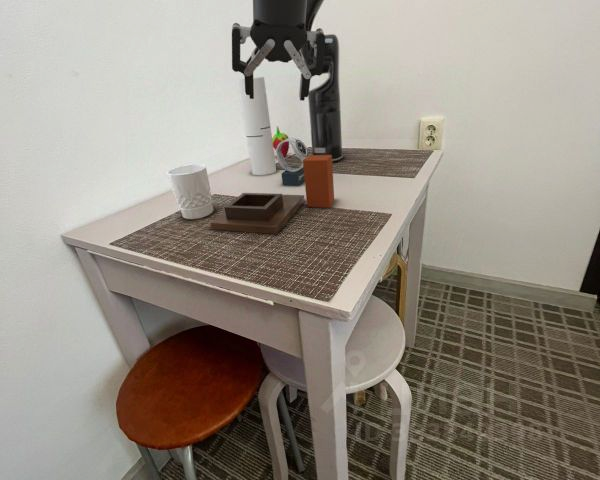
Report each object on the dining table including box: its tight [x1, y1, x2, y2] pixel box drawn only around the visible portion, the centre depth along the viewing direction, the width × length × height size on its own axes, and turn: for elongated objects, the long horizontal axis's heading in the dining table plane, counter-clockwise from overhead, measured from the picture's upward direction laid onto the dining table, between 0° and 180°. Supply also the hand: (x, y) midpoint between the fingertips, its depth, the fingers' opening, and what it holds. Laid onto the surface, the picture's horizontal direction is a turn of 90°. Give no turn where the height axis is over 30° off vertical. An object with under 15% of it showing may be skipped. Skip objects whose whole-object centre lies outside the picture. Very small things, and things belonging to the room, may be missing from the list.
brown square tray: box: [210, 192, 306, 235], centre depth 68 cm, size 16×14×4 cm
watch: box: [275, 137, 309, 187], centre depth 83 cm, size 6×8×11 cm
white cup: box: [166, 163, 214, 220], centre depth 70 cm, size 8×8×10 cm
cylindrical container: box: [236, 76, 277, 176], centre depth 92 cm, size 7×7×25 cm
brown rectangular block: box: [302, 154, 335, 209], centre depth 68 cm, size 4×5×10 cm
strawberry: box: [272, 125, 290, 157], centre depth 109 cm, size 6×7×10 cm
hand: (276, 97), depth 56 cm, fingers open, 8 cm apart
